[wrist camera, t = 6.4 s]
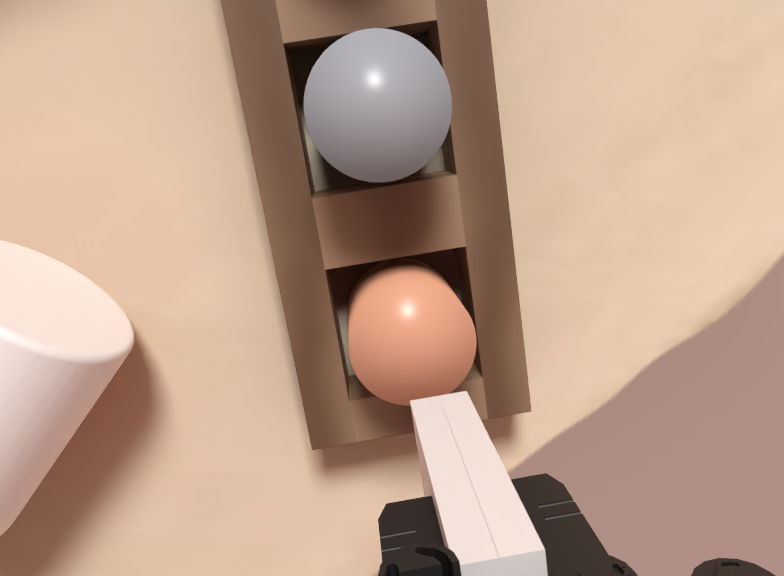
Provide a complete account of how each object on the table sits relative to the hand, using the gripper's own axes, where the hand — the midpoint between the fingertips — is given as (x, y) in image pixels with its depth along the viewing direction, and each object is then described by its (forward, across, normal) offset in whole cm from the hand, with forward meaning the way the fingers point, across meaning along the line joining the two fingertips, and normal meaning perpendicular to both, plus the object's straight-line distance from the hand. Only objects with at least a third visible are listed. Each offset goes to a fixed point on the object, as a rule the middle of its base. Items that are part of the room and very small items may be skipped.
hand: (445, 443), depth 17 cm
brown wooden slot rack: (+14, 0, +9) cm, 17 cm away
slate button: (+12, 0, +9) cm, 15 cm away
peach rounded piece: (+14, 0, 0) cm, 14 cm away
